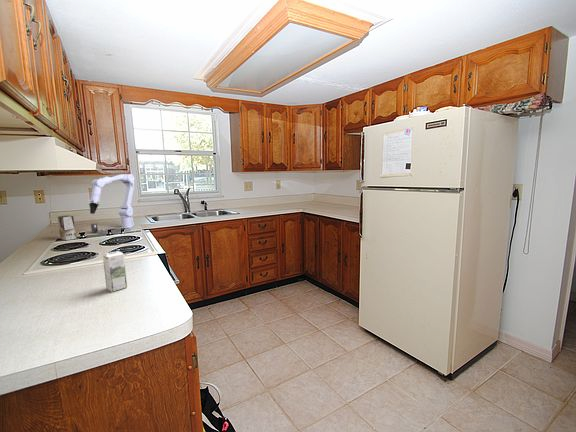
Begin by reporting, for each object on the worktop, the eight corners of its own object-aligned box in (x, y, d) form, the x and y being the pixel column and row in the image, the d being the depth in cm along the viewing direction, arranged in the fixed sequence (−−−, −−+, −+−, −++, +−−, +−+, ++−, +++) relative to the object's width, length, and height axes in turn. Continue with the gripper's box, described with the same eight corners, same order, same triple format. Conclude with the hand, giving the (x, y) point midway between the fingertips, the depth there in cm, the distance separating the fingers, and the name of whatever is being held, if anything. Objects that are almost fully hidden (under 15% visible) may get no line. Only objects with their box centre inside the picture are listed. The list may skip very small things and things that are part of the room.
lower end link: (109, 231, 226) (109, 229, 226) (130, 230, 228) (130, 228, 228) (102, 233, 216) (102, 231, 216) (124, 233, 218) (124, 231, 218)
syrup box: (121, 284, 119) (117, 250, 117) (127, 287, 115) (123, 252, 113) (106, 288, 115) (102, 253, 112) (112, 292, 111) (107, 256, 109)
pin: (93, 232, 222) (92, 223, 221) (99, 232, 223) (98, 223, 222) (90, 233, 219) (89, 224, 217) (96, 233, 219) (95, 224, 218)
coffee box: (76, 238, 203) (73, 215, 200) (66, 240, 197) (62, 217, 195) (70, 237, 207) (67, 214, 205) (60, 239, 202) (56, 216, 199)
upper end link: (103, 231, 226) (103, 228, 226) (122, 230, 227) (122, 227, 227) (96, 234, 216) (96, 230, 216) (116, 233, 217) (116, 230, 217)
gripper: (88, 195, 217) (85, 213, 215) (89, 193, 205) (86, 212, 204) (99, 197, 221) (96, 214, 219) (101, 195, 210) (98, 213, 208)
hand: (92, 213), depth 212 cm, fingers open, 7 cm apart
